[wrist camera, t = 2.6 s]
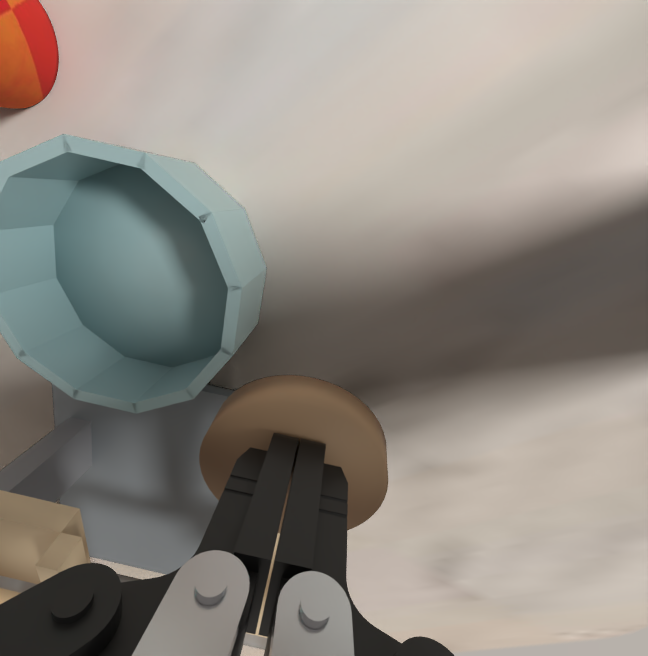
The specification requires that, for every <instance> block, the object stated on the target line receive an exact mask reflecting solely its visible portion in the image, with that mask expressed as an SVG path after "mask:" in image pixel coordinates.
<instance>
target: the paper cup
mask: <svg viewBox="0 0 648 656" xmlns="http://www.w3.org/2000/svg"><path fill="white" fill-rule="evenodd" d="M58 63H59V54H58V45H57V40H56V36H55V32H54V29H53V26H52V24H51V21H50V19H49V17H48V15H47V13H46V11H45V9H44V8H43V6H42V5H41V3H40V2H39V0H0V107H4V108H27V107H31V106H33V105H36V104H37V103H39V102H40V101H42V100H43V99H44V98H45V97H46V96H47V95H48V93H49V92H50V90H51V89H52V87H53V85H54V82H55V80H56V76H57V72H58Z"/></svg>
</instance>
